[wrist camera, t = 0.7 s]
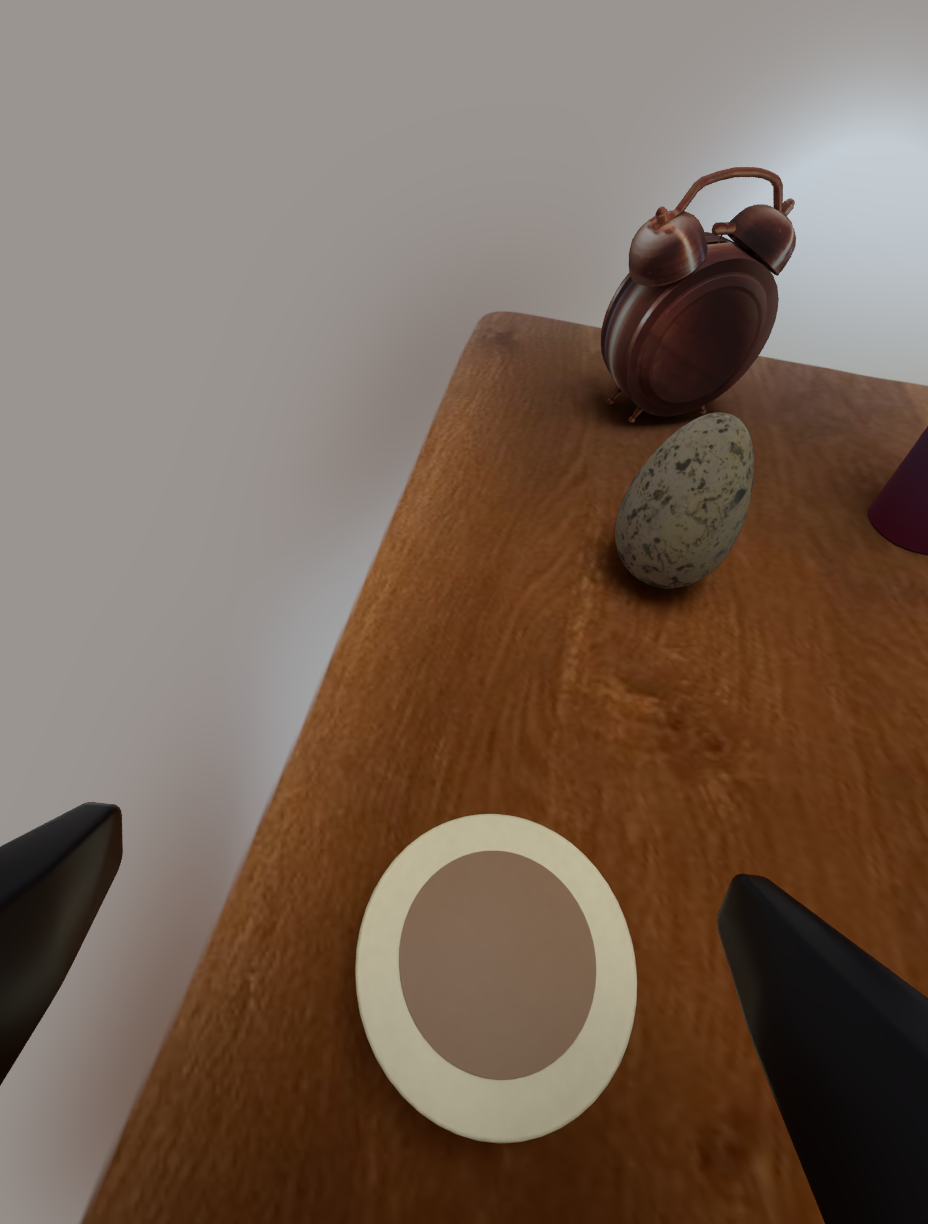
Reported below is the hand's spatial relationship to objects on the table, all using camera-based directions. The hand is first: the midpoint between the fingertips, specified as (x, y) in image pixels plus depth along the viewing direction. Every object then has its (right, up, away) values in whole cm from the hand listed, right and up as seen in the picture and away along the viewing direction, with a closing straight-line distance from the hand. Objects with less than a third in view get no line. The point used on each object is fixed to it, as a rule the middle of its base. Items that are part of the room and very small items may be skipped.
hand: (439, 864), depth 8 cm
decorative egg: (+11, +6, +25) cm, 28 cm away
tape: (+1, -9, +12) cm, 15 cm away
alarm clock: (+15, +19, +35) cm, 43 cm away
